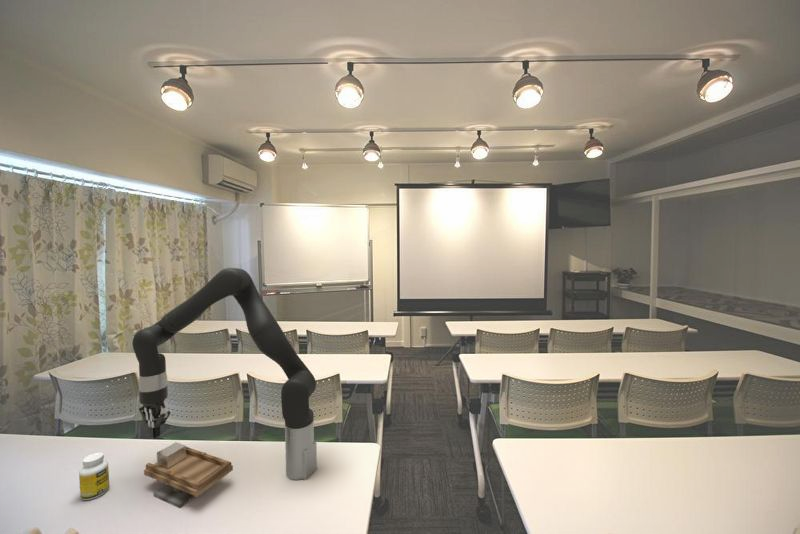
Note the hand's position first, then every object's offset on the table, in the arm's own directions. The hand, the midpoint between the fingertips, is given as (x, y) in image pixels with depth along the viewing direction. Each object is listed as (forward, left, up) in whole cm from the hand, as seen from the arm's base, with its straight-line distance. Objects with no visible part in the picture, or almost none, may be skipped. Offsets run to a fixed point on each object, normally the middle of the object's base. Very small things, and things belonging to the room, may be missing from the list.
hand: (155, 436), depth 108 cm
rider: (-8, 0, -6) cm, 10 cm away
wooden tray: (-16, 0, -13) cm, 20 cm away
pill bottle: (+8, +13, -13) cm, 20 cm away
